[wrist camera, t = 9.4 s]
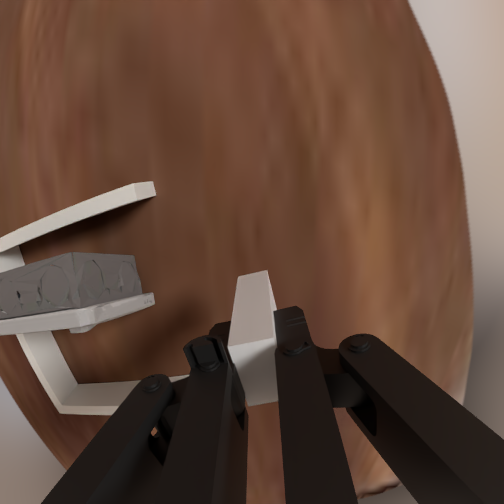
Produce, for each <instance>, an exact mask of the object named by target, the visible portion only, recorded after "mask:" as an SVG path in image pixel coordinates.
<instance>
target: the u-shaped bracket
mask: <svg viewBox="0 0 504 504" xmlns="http://www.w3.org/2000/svg"><path fill="white" fill-rule="evenodd" d="M153 196H156V192H155V189H154V185H153V181H151V182H141V183H133V184H130V185H127V186H124V187H121V188H119V189H116V190H113V191H110V192H108V193H105V194H102V195H99V196H97V197H94V198H91V199H89V200H86V201H84V202H81V203H79V204H76V205H74V206H71V207H69V208H66V209H64V210H61V211H59V212H56V213H54V214H52V215H49V216H47V217H45V218H42V219H40V220H38V221H36V222H33V223H31V224H29V225H27V226H25V227H22V228H20V229H18V230H16V231H14V232H12V233H10V234H7V235H5V236H3V237H1V238H0V273H1V272H5V271H8V270H11V269H14V268H18V267H21V266H24V265H25V264H24V261H23V257H22V254H21V251H20V248H19V245H20V244H23V243H25V242H28V241H30V240H32V239H35V238H37V237H40V236H42V235H45V234H47V233H50V232H52V231H55V230H58V229H60V228H63V227H66V226H68V225H71V224H74V223H76V222H79V221H82V220H84V219H87V218H90V217H93V216H96V215H98V214H101V213H104V212H107V211H110V210H113V209H116V208H119V207H122V206H125V205H128V204H131V203H134V202H137V201H140V200H143V199H147V198H150V197H153ZM16 336H17V338H18V340H19V342H20V344H21V346H22V348H23V350H24V352H25V354H26V356H27V358H28V360H29V362H30V364H31V366H32V368H33V369H34V371H35V373H36V375H37V377H38V378H39V380H40V382H41V384H42V385H43V387H44V389H45V390H46V392H47V394H48V395H49V397H50V399H51V400H52V402H53V403H54V405H55V407H56V408H57V410H58V411H59V413H62V414H82V415H112V414H113V413H114V412H115V411H116V410H117V408H118V407H119V406H120V405H121V403H122V402H123V401H124V400H125V398H126V397H127V396H128V395H129V394H130V392H131V391H132V390H133V389H134V387H135V386H136V385H137V384H138V383H139V382H140V381H141V380H137V381H125V382H110V383H92V384H78V383H77V382H76V380H75V378H74V376H73V374H72V373H71V371H70V369H69V367H68V365H67V363H66V361H65V359H64V357H63V355H62V353H61V351H60V349H59V347H58V345H57V343H56V341H55V339H54V337H53V335H52V332H51V331H44V332H33V333H22V334H16ZM188 376H189V375H183V376H175V377H169V379H170V381H171V382H174V381H177V380H180V379H183V378H186V377H188Z"/></svg>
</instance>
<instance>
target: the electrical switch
mask: <svg viewBox="0 0 504 504" xmlns="http://www.w3.org/2000/svg"><path fill="white" fill-rule="evenodd" d="M73 260H74V264H73ZM93 261H94V262H93ZM50 265H54V266H50ZM74 269H75V270H74ZM154 304H155V301H154V295H153V293H152V292H151V293H145V294H142V288H141V282H140V278H139V276H138V273H137V269H136V263H135V257H134V255H117V254H99V253H82V252H73V257H72V252H69V253H66V254H62V255H59V256H55V257H52V258H48V259H45V260H41V261H38V262H34V263H31V264H28V265H24V266H21V267H18V268H14V269H11V270H8V271H5V272H1V273H0V335H12V334H22V333H33V332H44V331H52V330H60V329H69V330H70V332H71V333H83V332H86V331H89V330H90V329H92V328H93V327H94V326H96V325H97V324H99V323H103V322H106V321H110V320H113V319H116V318H119V317H122V316H125V315H128V314H131V313H134V312H136V311H139V310H142V309H145V308H147V307H149V306H152V305H154Z"/></svg>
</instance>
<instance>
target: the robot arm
mask: <svg viewBox="0 0 504 504" xmlns="http://www.w3.org/2000/svg"><path fill="white" fill-rule="evenodd" d="M183 350H184V353H185V355H186V357H187V360H188V362H189V365H190V367H191V371H190V374H189V376H188V377H186V378H183V379H180V380H177V381H174V382H171V381H170V379H169V377H167V376H166V375H163V374H155V375H151V376H148V377H146V378H144V379H143V380H141V381H140V382H139V383H138V384H137V385H136V386H135V387H134V389H133V390H132V391H131V392H130V394H129V395H128V396H127V397H126V398H125V400H124V401H123V402H122V403H121V405H120V406H119V407H118V408H117V410H116V411H115V412H114V413H113V414H112V416H111V417H110V418H109V419H108V421H107V422H106V423H105V424H104V426H103V427H102V428H101V429H100V431H99V432H98V433H97V434H96V436H95V437H94V438H93V439H92V440H91V442H90V443H89V444H88V445H87V447H86V448H85V449H84V450H83V452H82V453H81V454H80V455H79V457H78V458H77V459H76V460H75V462H74V463H73V464H72V465H71V467H70V468H69V469H68V470H67V472H66V473H65V474H64V475H63V477H62V478H61V479H60V480H59V482H58V483H57V484H56V485H55V487H54V488H53V489H52V490H51V492H50V493H49V494H48V495H47V497H46V498H45V499H44V500H43V502H42V503H41V504H246V487H247V450H248V413H247V410H246V407H245V398H246V400H247V403H248V406H253V405H259V404H265V403H270V402H276V401H278V403H279V416H280V429H281V442H282V455H283V469H284V483H285V498H286V504H358V502H357V497H356V493H355V489H354V485H353V481H352V477H351V473H350V469H349V466H348V462H347V458H346V454H345V450H344V447H343V443H342V439H341V436H340V432H339V428H338V425H337V421H336V417H335V414H334V410H333V408H340V407H345V408H346V411H347V412H348V414H349V415H350V416H351V418H352V419H353V420H354V422H355V423H356V424H357V426H358V427H359V428H360V429H361V431H362V432H363V433H364V435H365V436H366V437H367V439H368V440H369V441H370V442H371V444H372V445H373V446H374V448H375V449H376V450H377V451H378V453H379V454H380V455H381V457H382V458H383V459H384V461H385V462H386V463H387V464H388V466H389V467H390V468H391V469H392V471H393V472H394V473H395V475H396V476H397V477H398V478H399V480H400V481H401V482H402V483H403V485H404V486H405V487H406V489H407V490H408V491H409V492H410V494H411V495H412V496H413V497H414V499H415V500H416V501H417V502H418V504H504V440H503V439H502V438H501V437H500V436H499V435H497V434H496V433H495V432H494V431H493V430H491V429H490V428H489V427H488V426H486V425H485V424H484V423H483V422H482V421H480V420H479V419H478V418H476V417H475V416H474V415H473V414H472V413H471V412H469V411H468V410H467V409H466V408H464V407H463V406H462V405H461V404H459V403H458V402H457V401H456V400H455V399H453V398H452V397H451V396H450V395H448V394H447V393H446V392H445V391H443V390H442V389H441V388H440V387H438V386H437V385H436V384H435V383H433V382H432V381H431V380H430V379H429V378H427V377H426V376H425V375H424V374H422V373H421V372H420V371H419V370H417V369H416V368H415V367H414V366H412V365H411V364H410V363H409V362H407V361H406V360H405V359H404V358H402V357H401V356H400V355H399V354H397V353H396V352H395V351H394V350H392V349H391V348H390V347H389V346H387V345H386V344H385V343H384V342H382V341H381V340H380V339H379V338H377V337H375V336H373V335H370V334H356V335H353V336H349V337H348V338H346V339H344V340H343V341H342V342H341V343H340V344H339V349H324V348H320V347H317V346H316V345H315V344H314V343H313V342H312V339H311V336H310V333H309V329H308V326H307V323H306V320H305V316H304V313H303V310H302V309H300V308H299V307H297V306H293V307H289V308H284V309H280V310H277V309H276V305H275V301H274V297H273V293H272V289H271V285H270V280H269V276H268V272H267V270H265V271H261V272H257V273H252V274H248V275H243V276H239V277H238V281H237V287H236V294H235V301H234V307H233V314H232V320H231V321H228V322H223V323H218V324H215V325H214V327H213V328H212V329H211V330H210V332H209V335H205V336H201V337H198V338H195V339H193V340H191V341H190V342H189V343H187V344H186V345H185V347H184V348H183ZM154 427H155V428H156V429H157V433H156V434H155V435H154V436H152V434H151V431H152V430H153V428H154Z"/></svg>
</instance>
